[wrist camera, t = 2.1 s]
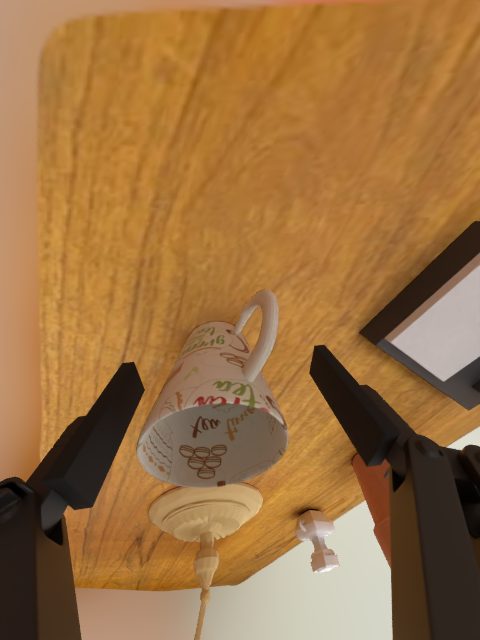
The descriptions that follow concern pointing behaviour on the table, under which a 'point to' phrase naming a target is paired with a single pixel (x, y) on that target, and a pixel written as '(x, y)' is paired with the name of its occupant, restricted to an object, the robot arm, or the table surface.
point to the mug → (217, 407)
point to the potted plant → (376, 499)
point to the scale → (439, 322)
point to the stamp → (317, 539)
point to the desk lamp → (205, 523)
